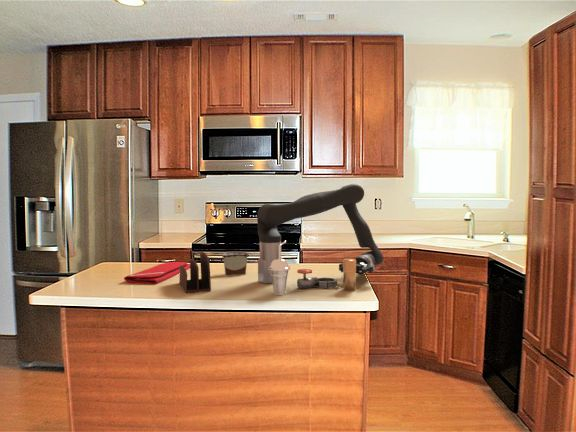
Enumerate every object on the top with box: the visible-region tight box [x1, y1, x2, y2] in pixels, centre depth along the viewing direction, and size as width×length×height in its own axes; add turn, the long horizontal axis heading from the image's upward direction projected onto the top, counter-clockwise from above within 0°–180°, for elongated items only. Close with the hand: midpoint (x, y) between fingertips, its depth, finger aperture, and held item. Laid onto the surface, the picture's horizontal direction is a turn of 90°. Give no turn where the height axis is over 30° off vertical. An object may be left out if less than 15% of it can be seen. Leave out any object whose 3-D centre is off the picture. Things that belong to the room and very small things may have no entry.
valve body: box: [296, 268, 338, 290], centre depth 204 cm, size 18×9×7 cm, turn 116°
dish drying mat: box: [123, 261, 190, 285], centre depth 230 cm, size 16×41×4 cm, turn 170°
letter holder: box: [179, 251, 212, 294], centre depth 204 cm, size 10×20×14 cm, turn 19°
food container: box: [222, 251, 249, 276], centre depth 232 cm, size 12×6×10 cm, turn 108°
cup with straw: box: [268, 240, 291, 296], centre depth 192 cm, size 8×9×20 cm
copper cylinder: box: [342, 258, 357, 292], centre depth 199 cm, size 5×5×12 cm
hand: (352, 270), depth 203 cm, fingers open, 8 cm apart
